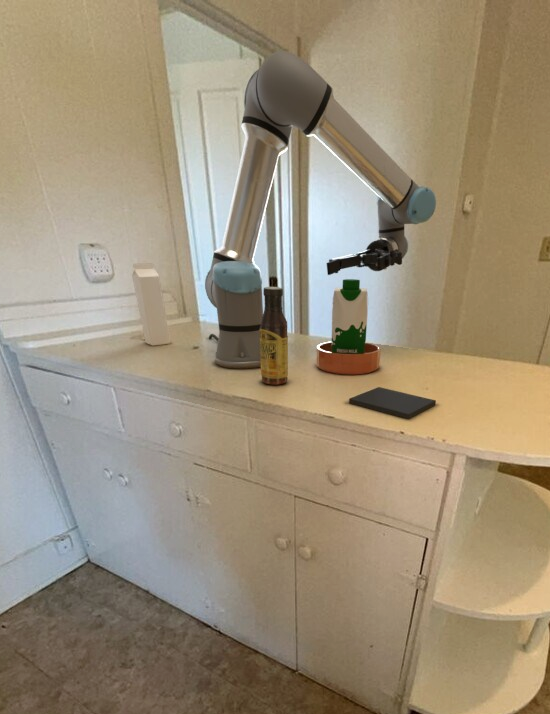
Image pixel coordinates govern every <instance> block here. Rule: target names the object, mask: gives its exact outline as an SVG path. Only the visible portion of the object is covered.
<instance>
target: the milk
mask: <svg viewBox="0 0 550 714" xmlns="http://www.w3.org/2000/svg"><path fill="white" fill-rule="evenodd" d="M132 266H133V272H132V274H131V277H132V281H133V287H134V291H135V297H136V301H137V306H138V311H139V317H140V320H141V321H140V322H141V326H142V331H143V336H144V341H145V343H146V344H148V345H150V346H152V347H153V346H160V345H162V346H163V345H169V344H171V337H170V331H169V325H168V319H167V313H166V309H165V308H166V307H165V303H164V302H165V301H164V296H163V291H162V284H161V278H160V275H159V273H158V272H157V270H156V269H155V264H154V262H147V263H146V262H145V263H143V262H142V263H141V262H140V263H137V262H136V263H133V265H132Z"/></svg>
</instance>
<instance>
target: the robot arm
mask: <svg viewBox="0 0 550 714" xmlns="http://www.w3.org/2000/svg"><path fill="white" fill-rule="evenodd" d="M243 103H244V104H243V105H244V110H243V114H242V119H241V120H242V121H241V125H240V129H241V131H242V133H243V136H244V143H243V147H242V152H241V156H240V161H239V166H238V170H237V174H236V179H235V182H234V183H235V184H234V188H233V193H232V197H231V200H230V207H229V211H228V216H227V219H226V225H225V229H224V233H223V238H222V243H221V246H220V247H219V248H217V249H214V251H213V255H212V256H213V257H212V260H211V266H210V269H209V270H208V272H207V274H206V276H205V280H204V290H205V292H206V297H207V299H208V300H209V301H210V303H211V305H212V306H213V307H214V308H216V313H217V322H218V332H219V333H218V336H217V335H216V334H214V333H210V334H209V335H208V340H212V338H213V339H214V340H215V341H216V342H217V345H216V351H215V354H214V357H215V359H214V360H215V364H216V365H217V366H219V367H223V368H226V369H227V368H228V369H239V370H240V369H257V368H261V357H260V325H261V321H262V317H263V313H264V305H263V304H264V303H263V302H264V301H263V287H262V285H263V278H262V273H261V269H260V268H259V266H258V265H257V264H255V261H254V256H255V253H256V249H257V244H258V241H259V237H260V232H261V229H262V225H263V220H264V218H265V217H264V216H265V213H266V208H267V205H268V201H269V197H270V193H271V188H272V184H273V180H274V176H275V172H276V169H277V164H278V161H279V157H280V156H281V154H283V153H285V152H286V151H288V146H289V142H290V139H291V135H292V131H293V128H294V127H295V128H297V129H298V130H300V131H301V132H302V133H303V134H304V135H305V136H306V137H312V136H314V137H315V138H316V139H317V140H318V141H319V142H320V143H322V145H323V146H325V147H326V149H328V150H329V151H330V152H331V153H332V154H333V155H334V156H335V157H336V158H337V159H338V160H339V161H340V162H341V163H343V164H344V165H345V166H346V168H348V169H349V170H350V171H351V172H352V173H353V174H355V176H356V177H357V178H359V179H360V180H361V181H362V182H363V183H364V184H365V185H366V186H367V187H368V188H369V189H370V190H371V191H372V192H374V193H375V194H376V195H377V196H376V207H377V225H378V238H377V239H375V240H372V241H371V242H369V244H368V245H367V246H366V248H365V250H363V251H359V252H356V253H351V254H348V255H344V256H338V257H335V258H329V259H328V262H326V272H327V276H331V275H333V274H339V272H340V271H341V270H344V269H349V268H354V267H356V268H364V267H365V268H368V269H369V270H371V271H373V272H381V271H386V270H387V269H388V268H390V266H391V267H393V266H395V264H396V265H397V266H398V265H399V266H401V265H402V264H403V259H404V258H405V256H406V255H407V253H408V250H409V241H408V238H407V237H406V235H405V225H418V224H423V223H426V222H428V221H429V220H430V219H431V218H432V217H433V215H434V213H435V211H436V208H437V207H436V206H437V199H436V194H435V192H434V191H433V189H432V188H430V187H425V186H419V185H418V184H417V182H415V181H414V180H413V179H412V178H411V177H410V176H409V175H408V173H406V172H405V170H403V169H402V168H401V166H399V164H398V163H397V162H396V161H395V160H394V159H393V158H392V157H391V156H390V155H389V154H388V153H387V152H386V151H385V150H384V149H383V148H382V147H381V146H380V144H379V143H377V141H375V139H373V138H372V137H371V135H370V134H369V133H368V132H367V131H366V130H365V129H364V128H363V127H362V126H361V125H360V124H359V123H358V122H357V121H356V119H354V118H353V116H352V115H350V113H349V112H348V111H347V110H346V109H345V108H344V107H343V106H342V105H341V104H340V103H339V102H338V101H337V99H335V97H334V89H333V88H332V86H331V85H330V84H329V83H328V82H327V81H326V80H325V79H324V78H323V76H321V74H320V73H318V71H316V70H315V68H313V67H312V66H311V65H310V64H309V63H307V62H306V61H305V60H304V58H303V59H302V57H300V56H299V55H297V54H295V53H293V52H291V51H288V50H277V51H274V52H272V53H271V54H269V55H268V56H266V58H265V59H264V60H263V62H262V63H261V65H260V66H259V68H258V69H257V70H256V71H255V72H254V73H253V74H252V75H251V76H250V78H249V80H248V82H247V84H246V87H245V91H244V98H243Z"/></svg>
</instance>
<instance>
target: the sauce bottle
mask: <svg viewBox="0 0 550 714" xmlns="http://www.w3.org/2000/svg"><path fill="white" fill-rule="evenodd" d="M262 295H263V296H264V307H263V317H262V321H261V325H260V357H261V367H260V375H261V381H262V383H264V384H266V385H271V386H277V385H283V384H286V383H287V382H288V374H289V336H288V321H287V319H286V317H285V315H284V311H283V295H284V290H283V287H280V286H264V287H263V289H262Z"/></svg>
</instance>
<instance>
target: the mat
mask: <svg viewBox="0 0 550 714" xmlns="http://www.w3.org/2000/svg"><path fill="white" fill-rule="evenodd" d="M436 402H437V400H436V399H431V398H427V397H423V396H420V395H414V394H411V393H406V392H402V391H398V390H394V389H389V388H385V387H381V386H378V387H375V388H372V389H370V390H367V391H364V392H362V393H360V394H357V395H354V396H352V397H349V399H348V403H349V404H351V405H354V406H359V407H361V408H366V409H369V410H374V411H375V412H376V411H377V412H380V413H384V414H388V415H392V416H395V417H398V418H403V419H406V420H409V419H412V418H413V417H415V416H417V415H419V414H421V413H423V412H425V411H426V410H429V409H430V408H432V407H434V406H436Z"/></svg>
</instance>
